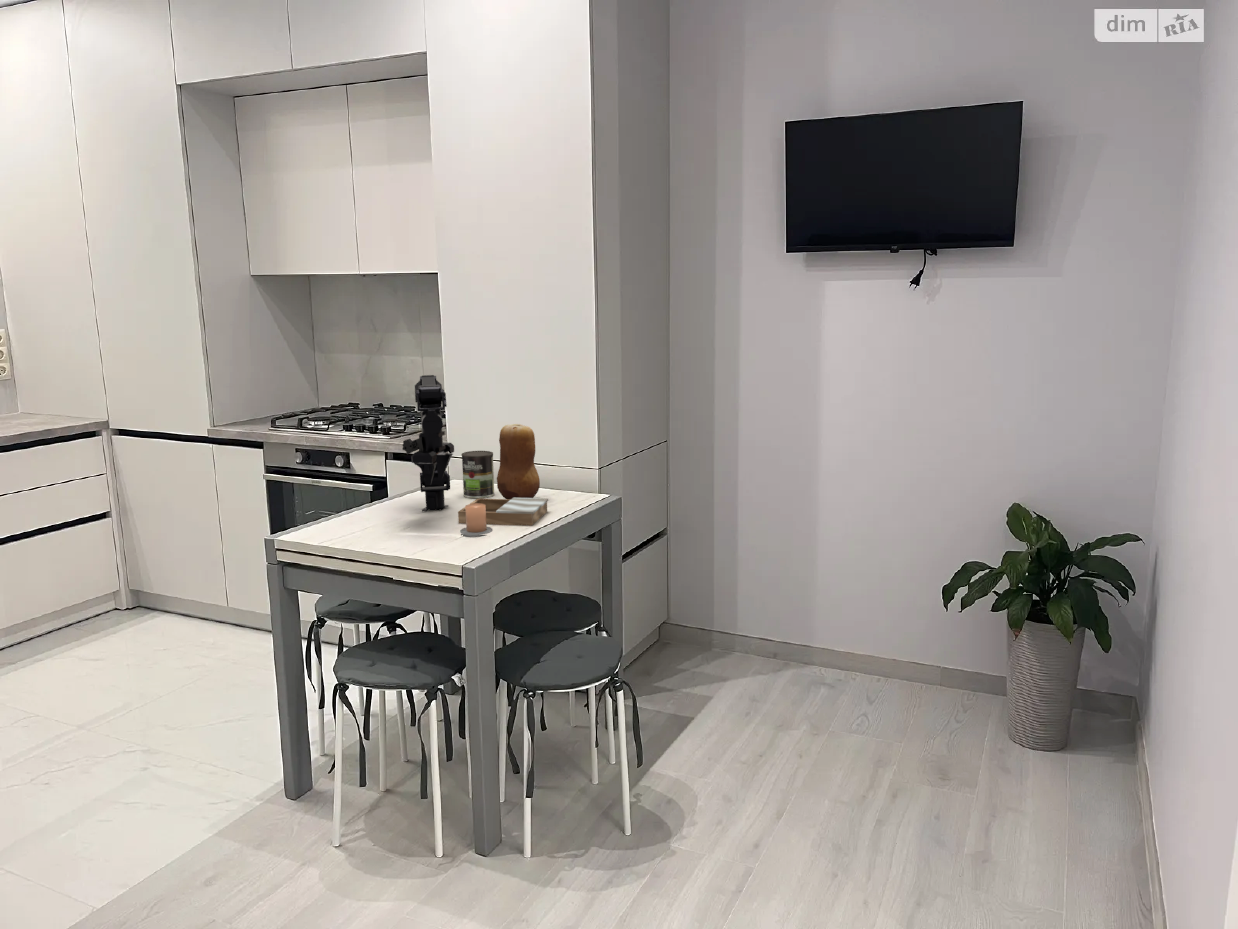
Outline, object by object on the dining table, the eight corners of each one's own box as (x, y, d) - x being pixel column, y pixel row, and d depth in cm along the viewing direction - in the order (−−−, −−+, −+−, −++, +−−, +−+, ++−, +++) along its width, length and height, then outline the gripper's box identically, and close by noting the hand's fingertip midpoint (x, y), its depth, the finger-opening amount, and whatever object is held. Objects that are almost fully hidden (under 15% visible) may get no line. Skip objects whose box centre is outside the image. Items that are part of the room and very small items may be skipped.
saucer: (466, 528, 271) (466, 525, 271) (496, 529, 270) (496, 526, 270) (455, 536, 263) (455, 533, 263) (486, 537, 261) (486, 534, 261)
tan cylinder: (470, 527, 269) (469, 503, 268) (489, 527, 268) (488, 503, 267) (463, 532, 264) (462, 507, 263) (482, 532, 263) (481, 508, 262)
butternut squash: (546, 498, 307) (543, 421, 303) (532, 507, 295) (529, 428, 290) (506, 496, 311) (502, 420, 306) (490, 505, 298) (487, 427, 293)
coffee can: (487, 499, 307) (485, 456, 304) (458, 497, 310) (456, 455, 307) (500, 492, 317) (498, 450, 314) (471, 491, 320) (469, 449, 317)
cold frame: (478, 511, 291) (477, 496, 290) (548, 513, 287) (548, 498, 286) (458, 525, 275) (457, 509, 274) (533, 527, 271) (533, 511, 270)
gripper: (418, 423, 285) (421, 474, 288) (392, 433, 267) (395, 487, 270) (453, 424, 283) (456, 475, 286) (429, 434, 265) (432, 488, 268)
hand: (434, 481), depth 277 cm, fingers open, 9 cm apart
